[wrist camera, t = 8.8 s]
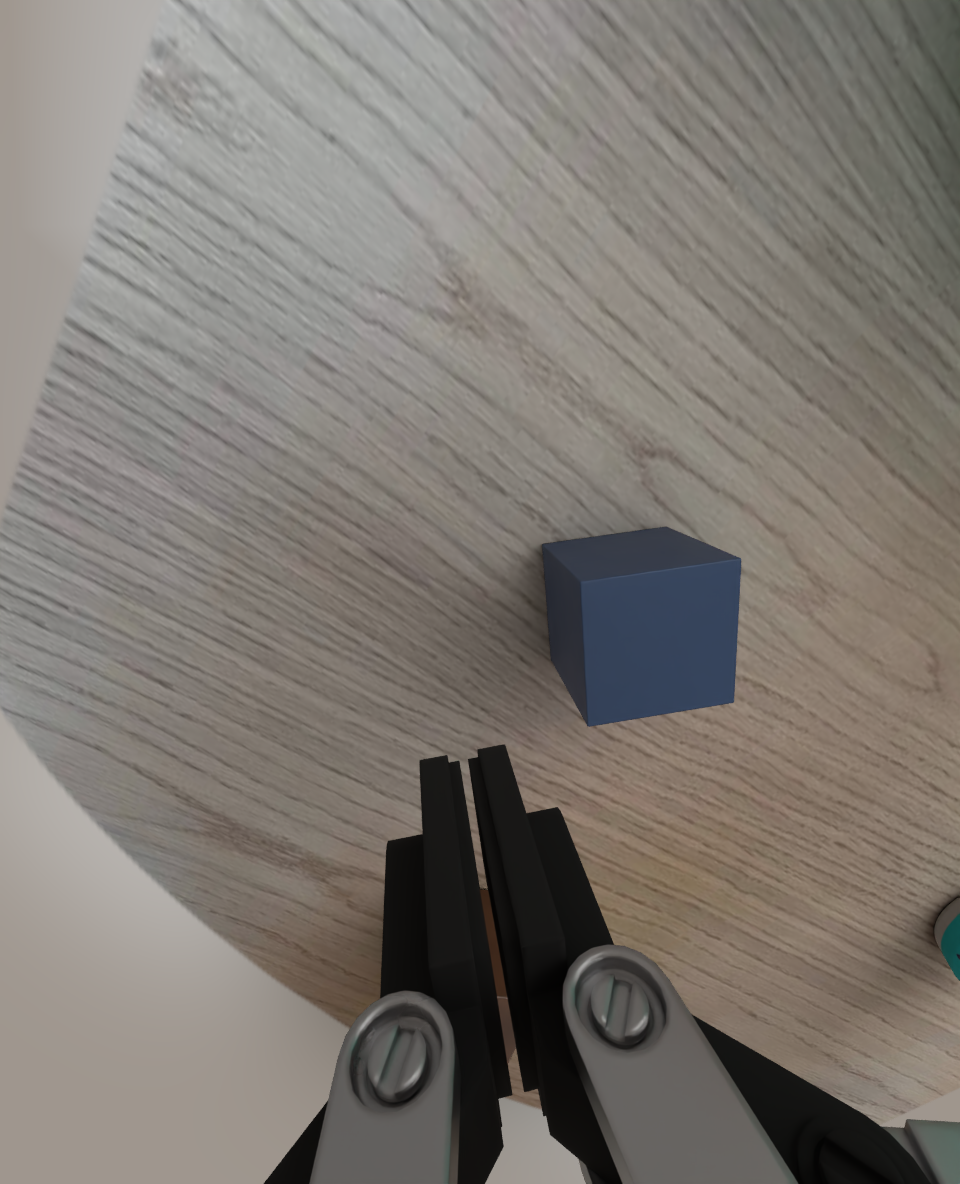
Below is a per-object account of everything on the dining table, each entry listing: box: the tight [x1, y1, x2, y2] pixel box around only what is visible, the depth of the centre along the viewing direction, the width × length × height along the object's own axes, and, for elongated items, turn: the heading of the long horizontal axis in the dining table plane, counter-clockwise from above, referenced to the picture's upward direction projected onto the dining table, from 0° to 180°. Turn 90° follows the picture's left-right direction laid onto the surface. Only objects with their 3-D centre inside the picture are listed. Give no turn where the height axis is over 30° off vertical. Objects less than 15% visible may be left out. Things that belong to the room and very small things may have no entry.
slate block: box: [542, 527, 741, 727], centre depth 19 cm, size 5×5×5 cm
